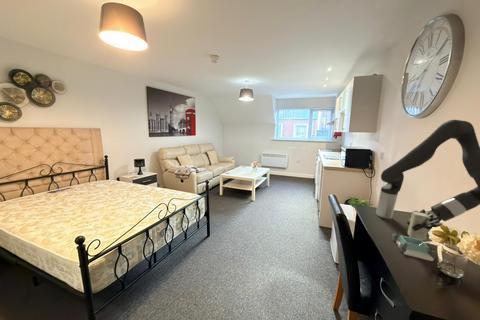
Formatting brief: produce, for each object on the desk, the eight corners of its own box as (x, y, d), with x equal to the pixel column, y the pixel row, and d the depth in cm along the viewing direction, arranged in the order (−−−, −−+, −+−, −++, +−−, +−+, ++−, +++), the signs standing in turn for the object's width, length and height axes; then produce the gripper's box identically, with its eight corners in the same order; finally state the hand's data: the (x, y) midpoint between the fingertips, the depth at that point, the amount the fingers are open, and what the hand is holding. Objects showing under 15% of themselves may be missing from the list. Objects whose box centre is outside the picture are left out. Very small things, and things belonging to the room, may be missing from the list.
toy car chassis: (391, 238, 108) (393, 231, 107) (420, 245, 104) (422, 237, 103) (401, 253, 95) (404, 245, 94) (435, 261, 91) (438, 253, 90)
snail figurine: (422, 229, 121) (427, 211, 119) (410, 227, 122) (415, 209, 120) (416, 225, 127) (421, 207, 124) (405, 223, 128) (409, 206, 125)
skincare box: (422, 236, 98) (428, 214, 96) (425, 241, 94) (432, 217, 92) (406, 232, 101) (412, 210, 99) (409, 236, 97) (414, 213, 95)
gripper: (433, 197, 99) (399, 214, 105) (452, 208, 85) (411, 227, 92) (444, 210, 98) (409, 226, 104) (464, 222, 85) (423, 240, 91)
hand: (410, 226), depth 98 cm, fingers closed on skincare box, 4 cm apart
